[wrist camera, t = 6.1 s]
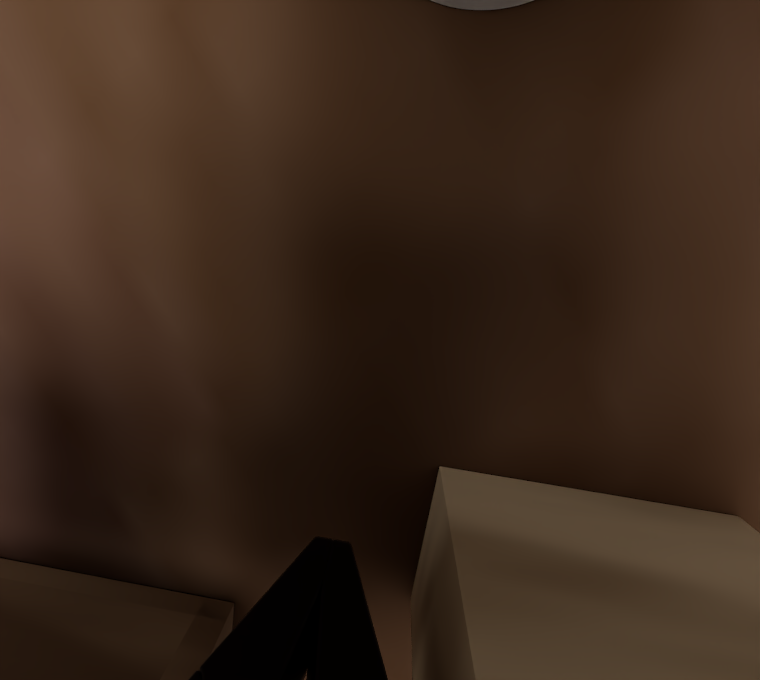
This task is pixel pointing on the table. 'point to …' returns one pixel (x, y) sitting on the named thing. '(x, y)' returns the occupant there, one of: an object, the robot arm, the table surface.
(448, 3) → the dixie cup
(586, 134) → the table surface
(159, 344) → the table surface
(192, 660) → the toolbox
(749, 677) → the block
